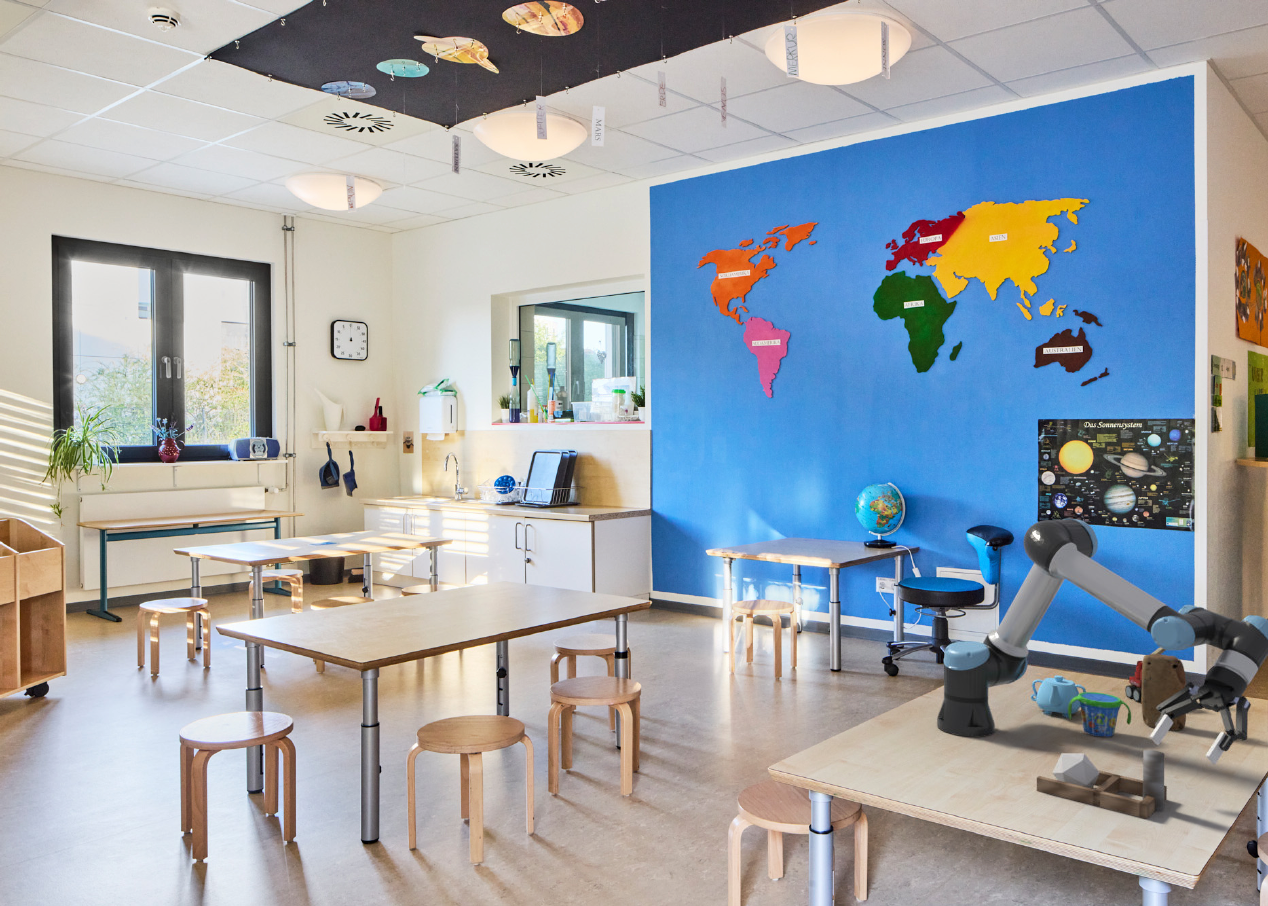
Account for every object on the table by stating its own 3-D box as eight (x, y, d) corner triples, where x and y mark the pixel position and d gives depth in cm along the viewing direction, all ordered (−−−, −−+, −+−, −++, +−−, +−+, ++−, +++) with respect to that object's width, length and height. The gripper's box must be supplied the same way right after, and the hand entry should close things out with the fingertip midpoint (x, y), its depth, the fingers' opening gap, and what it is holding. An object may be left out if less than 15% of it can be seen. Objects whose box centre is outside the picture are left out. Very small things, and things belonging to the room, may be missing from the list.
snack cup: (1128, 731, 257) (1129, 695, 257) (1133, 743, 247) (1134, 704, 247) (1066, 725, 263) (1066, 689, 263) (1069, 735, 253) (1069, 698, 253)
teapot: (1066, 708, 282) (1065, 671, 282) (1095, 719, 268) (1094, 680, 268) (1027, 710, 280) (1026, 672, 280) (1055, 721, 266) (1054, 682, 266)
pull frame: (1036, 790, 212) (1037, 738, 211) (1060, 774, 222) (1060, 724, 222) (1153, 820, 195) (1154, 763, 195) (1172, 801, 206) (1173, 747, 206)
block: (1139, 725, 263) (1140, 655, 263) (1145, 720, 268) (1146, 650, 268) (1182, 733, 256) (1183, 661, 256) (1188, 727, 261) (1189, 656, 261)
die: (1094, 804, 206) (1111, 763, 210) (1057, 781, 208) (1074, 741, 211) (1077, 803, 214) (1093, 764, 218) (1041, 782, 216) (1057, 743, 219)
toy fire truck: (1150, 709, 279) (1151, 651, 279) (1123, 695, 295) (1124, 640, 295) (1188, 710, 279) (1189, 651, 279) (1159, 696, 295) (1160, 640, 295)
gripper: (1294, 700, 198) (1245, 779, 193) (1188, 673, 221) (1141, 743, 216) (1277, 678, 196) (1227, 757, 191) (1172, 653, 219) (1124, 723, 214)
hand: (1181, 750), depth 203 cm, fingers open, 13 cm apart
